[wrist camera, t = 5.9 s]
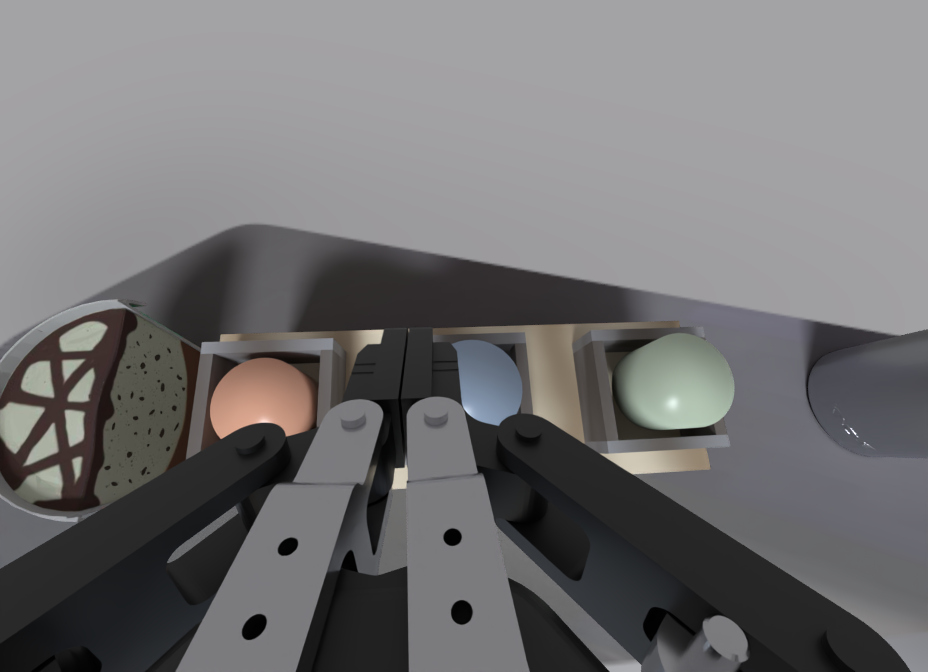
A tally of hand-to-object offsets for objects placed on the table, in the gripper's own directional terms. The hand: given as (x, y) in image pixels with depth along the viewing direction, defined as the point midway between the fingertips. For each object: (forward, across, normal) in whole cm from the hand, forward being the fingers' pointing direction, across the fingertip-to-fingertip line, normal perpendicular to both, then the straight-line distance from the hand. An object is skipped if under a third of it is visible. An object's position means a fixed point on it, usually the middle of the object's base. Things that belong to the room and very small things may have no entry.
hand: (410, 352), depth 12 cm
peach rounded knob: (+7, +8, +8) cm, 13 cm away
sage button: (+5, -12, +6) cm, 15 cm away
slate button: (+5, -2, +6) cm, 8 cm away
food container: (+14, +20, +14) cm, 28 cm away
